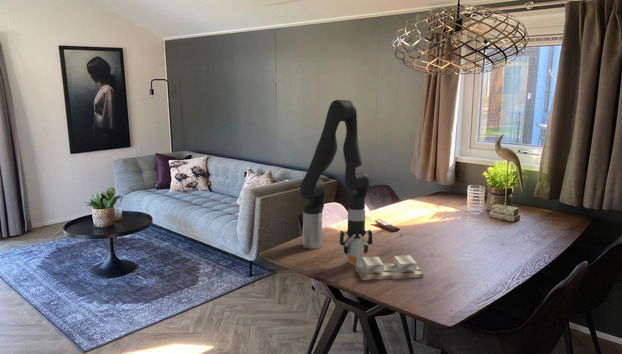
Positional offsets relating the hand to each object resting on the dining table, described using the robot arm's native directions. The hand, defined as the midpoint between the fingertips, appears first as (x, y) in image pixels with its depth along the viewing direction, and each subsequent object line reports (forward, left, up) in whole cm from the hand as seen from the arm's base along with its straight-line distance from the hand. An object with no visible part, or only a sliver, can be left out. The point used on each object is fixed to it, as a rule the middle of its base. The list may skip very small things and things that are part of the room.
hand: (355, 253), depth 207 cm
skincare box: (0, 0, -5) cm, 5 cm away
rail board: (+12, -12, -5) cm, 17 cm away
